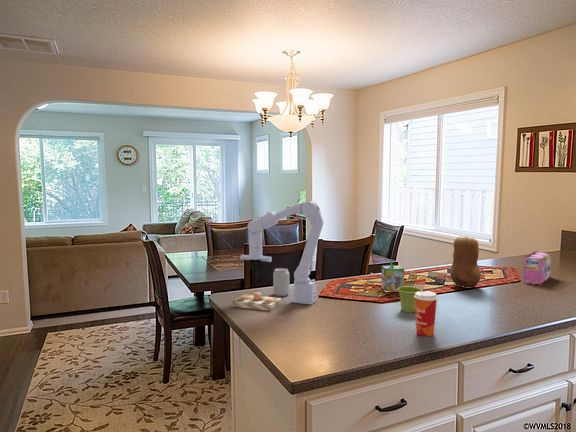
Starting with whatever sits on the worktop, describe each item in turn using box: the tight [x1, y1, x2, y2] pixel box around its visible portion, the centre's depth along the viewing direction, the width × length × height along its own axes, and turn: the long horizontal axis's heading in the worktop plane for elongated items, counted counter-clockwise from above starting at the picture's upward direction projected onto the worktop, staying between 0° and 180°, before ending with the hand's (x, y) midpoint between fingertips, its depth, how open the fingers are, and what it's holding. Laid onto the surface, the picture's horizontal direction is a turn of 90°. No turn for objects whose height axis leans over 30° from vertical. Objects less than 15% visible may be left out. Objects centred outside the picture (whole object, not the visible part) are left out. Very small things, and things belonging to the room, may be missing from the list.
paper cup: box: [414, 290, 438, 337], centre depth 145 cm, size 8×8×14 cm
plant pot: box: [398, 286, 423, 313], centre depth 171 cm, size 9×9×9 cm
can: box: [272, 267, 290, 297], centre depth 196 cm, size 8×8×12 cm
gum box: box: [522, 251, 552, 285], centre depth 221 cm, size 24×8×14 cm, turn 137°
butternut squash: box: [449, 236, 482, 288], centre depth 206 cm, size 14×13×25 cm
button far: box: [240, 295, 249, 300], centre depth 183 cm, size 3×3×3 cm
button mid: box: [252, 291, 262, 301], centre depth 180 cm, size 3×3×3 cm
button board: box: [232, 293, 283, 312], centre depth 180 cm, size 18×11×3 cm, turn 68°
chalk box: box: [380, 259, 405, 291], centre depth 201 cm, size 9×9×15 cm
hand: (256, 276), depth 188 cm, fingers closed
